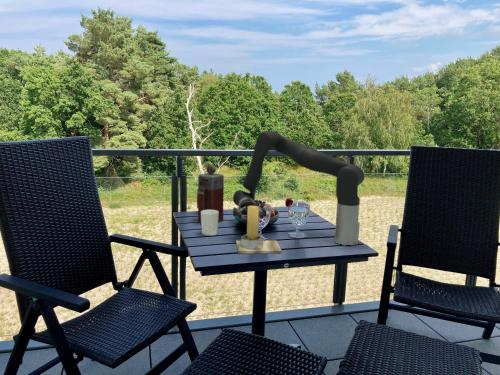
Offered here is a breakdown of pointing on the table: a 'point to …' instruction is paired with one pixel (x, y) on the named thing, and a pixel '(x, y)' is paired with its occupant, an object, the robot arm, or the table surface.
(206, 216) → the white cup
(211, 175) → the french press
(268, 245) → the birch board
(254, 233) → the ochre steel pin
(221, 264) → the table surface
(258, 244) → the steel ring collar
